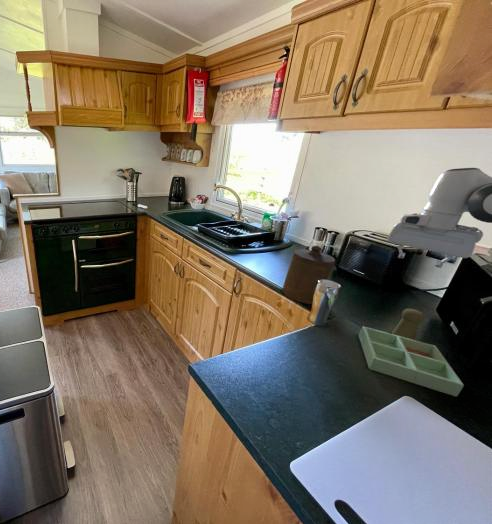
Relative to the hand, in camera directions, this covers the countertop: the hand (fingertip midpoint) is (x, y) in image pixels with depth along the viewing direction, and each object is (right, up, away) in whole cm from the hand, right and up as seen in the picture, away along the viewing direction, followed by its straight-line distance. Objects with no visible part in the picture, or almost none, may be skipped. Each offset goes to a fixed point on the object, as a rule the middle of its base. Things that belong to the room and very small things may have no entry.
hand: (418, 262), depth 95 cm
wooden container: (-25, -14, +26) cm, 38 cm away
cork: (-6, -26, 0) cm, 26 cm away
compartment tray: (-16, -29, -11) cm, 35 cm away
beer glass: (-30, -21, +7) cm, 37 cm away
